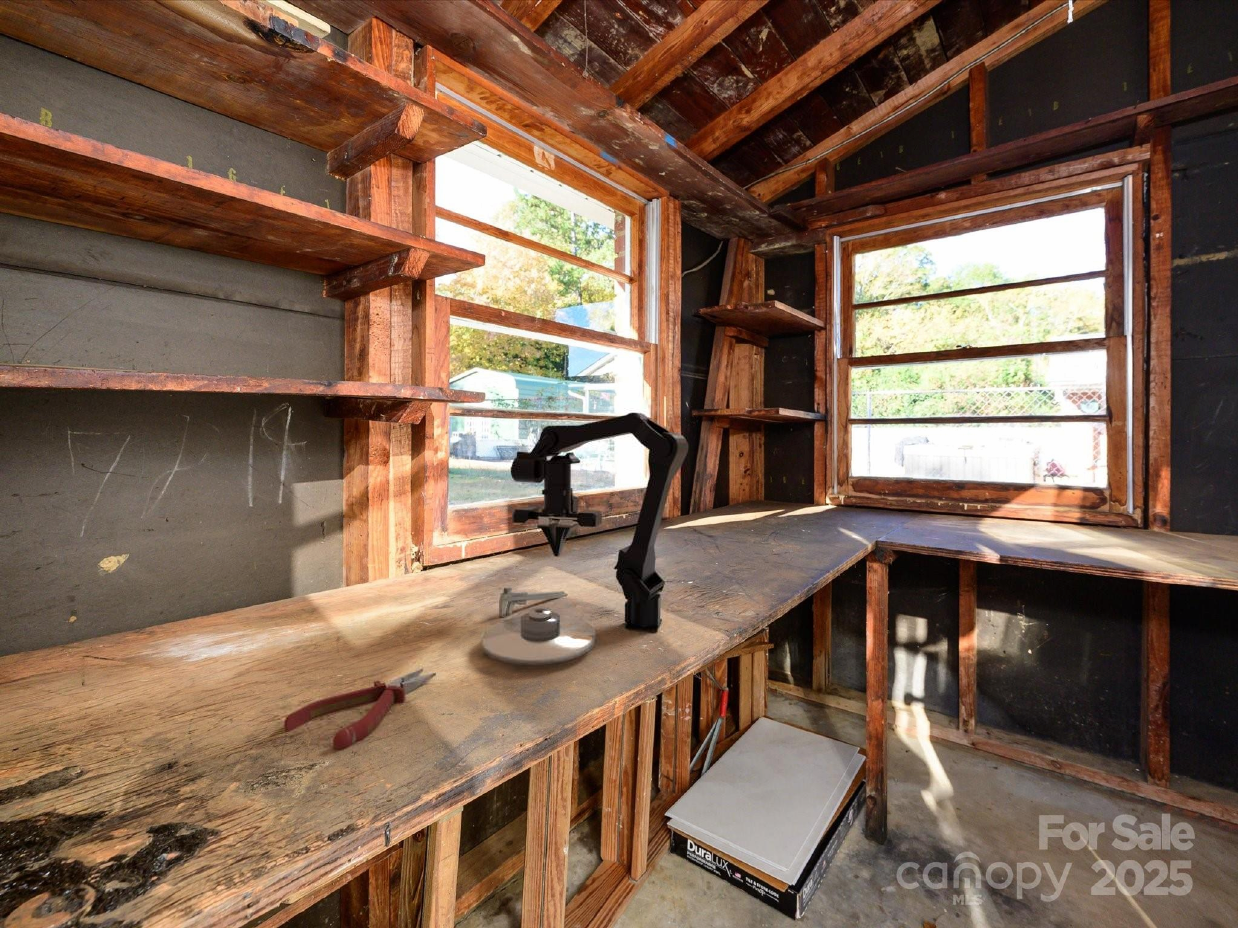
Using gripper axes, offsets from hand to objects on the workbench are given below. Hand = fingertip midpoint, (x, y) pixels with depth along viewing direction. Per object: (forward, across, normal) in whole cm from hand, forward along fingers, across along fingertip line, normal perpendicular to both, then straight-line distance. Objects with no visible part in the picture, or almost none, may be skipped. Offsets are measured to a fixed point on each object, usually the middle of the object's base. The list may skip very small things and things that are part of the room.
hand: (557, 556), depth 117 cm
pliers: (+13, +9, +46) cm, 49 cm away
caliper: (+12, +6, -2) cm, 14 cm away
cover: (+9, -4, +20) cm, 23 cm away
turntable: (+11, -4, +20) cm, 23 cm away
